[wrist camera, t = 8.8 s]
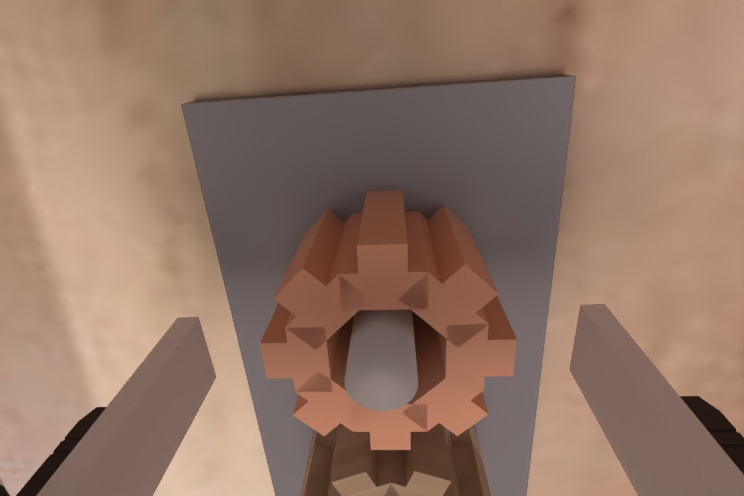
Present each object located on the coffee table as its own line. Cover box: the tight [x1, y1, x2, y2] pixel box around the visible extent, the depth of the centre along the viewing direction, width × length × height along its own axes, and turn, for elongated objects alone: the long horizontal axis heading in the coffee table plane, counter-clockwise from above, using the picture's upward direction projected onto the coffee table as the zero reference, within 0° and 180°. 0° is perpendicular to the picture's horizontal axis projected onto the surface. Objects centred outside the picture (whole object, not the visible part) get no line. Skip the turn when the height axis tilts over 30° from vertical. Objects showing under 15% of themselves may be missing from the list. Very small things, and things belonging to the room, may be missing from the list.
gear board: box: [181, 75, 576, 496], centre depth 19 cm, size 26×16×9 cm, turn 4°
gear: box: [300, 423, 491, 496], centre depth 22 cm, size 9×9×6 cm
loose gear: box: [260, 190, 517, 450], centre depth 18 cm, size 9×9×6 cm
